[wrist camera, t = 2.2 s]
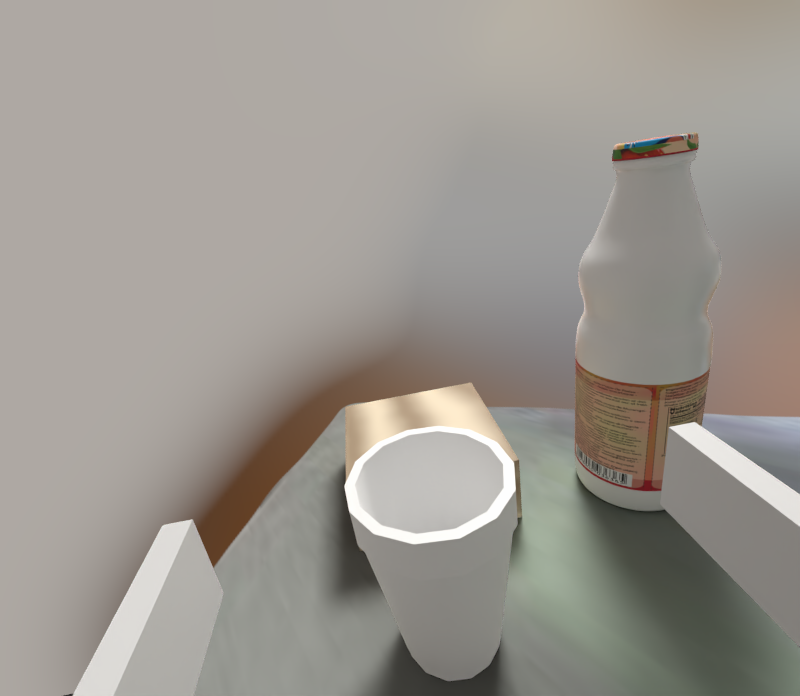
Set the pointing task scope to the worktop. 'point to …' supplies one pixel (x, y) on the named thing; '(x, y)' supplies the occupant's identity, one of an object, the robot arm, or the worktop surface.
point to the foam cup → (439, 541)
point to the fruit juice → (643, 322)
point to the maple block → (422, 421)
